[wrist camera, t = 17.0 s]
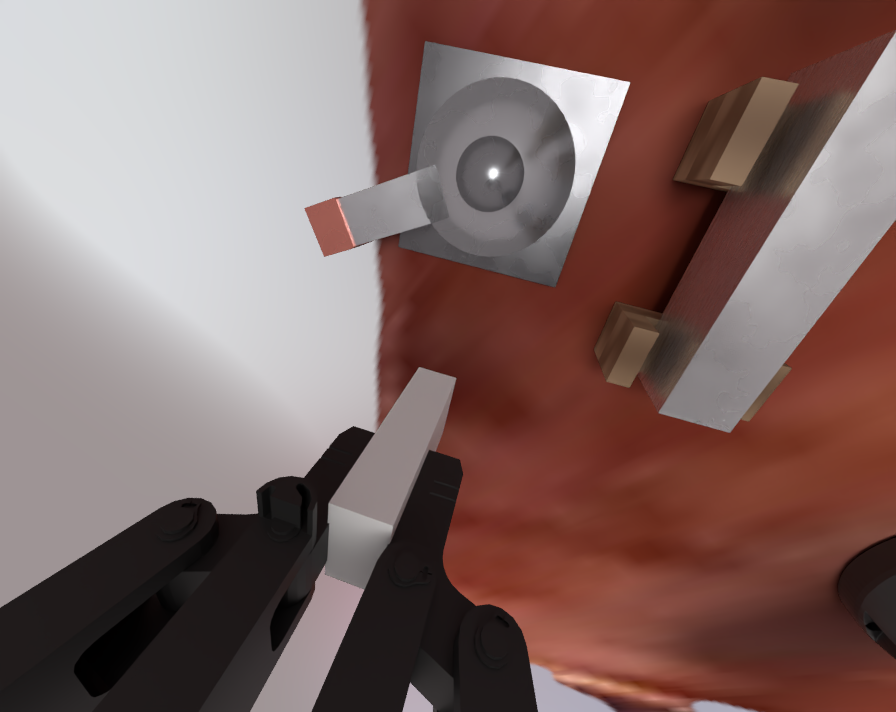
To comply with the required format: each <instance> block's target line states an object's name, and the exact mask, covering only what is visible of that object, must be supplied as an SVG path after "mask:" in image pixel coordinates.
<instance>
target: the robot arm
mask: <svg viewBox="0 0 896 712" xmlns="http://www.w3.org/2000/svg"><path fill="white" fill-rule="evenodd" d="M455 382H456V378H454V377H451V376H448V375H444V374H441V373H438V372H434V371H431V370H428V369H424V368H421V367H419V368H418V370H417V371H416V373H415V374H414V376H413V377H412V379H411V380H410V382H409V383H408V385H407V386H406V388H405V389H404V391H403V392H402V394H401V395H400V397H399V398H398V400H397V401H396V403H395V404H394V406H393V407H392V409H391V410H390V412H389V413H388V415H387V416H386V418H385V419H384V421H383V422H382V424H381V425H380V427H379V428H378V430H377V431H376V433H373V432H370V431H367V430H364V429H361V428H357V427H354V426H353V427H351V428H349V429H348V430H346V431H344V432H342V433H341V434H339V435H338V437H337V438H336V439H335V440H334V442H333V443H332V444H331V445H330V447H329V449H327V450H326V451H325V453H324V454H323V455H322V457H321V459H319V460H318V461H317V463H316V464H315V465H314V466H313V467H312V469H311V470H310V471H309V472H308V474H307V475H306V476H305V477H304V478H300V477H294V476H288V477H280V478H277V479H275V480H272V481H270V482H267V483H266V484H265V485H263V486H262V487H261V488H259V489H258V490H257V491H256V493H257V504H258V514H248V515H241V514H240V515H239V514H217V513H216V509H215V508H214V506H213V505H212V503H211V502H209V501H206V500H204V499H202V498H186V499H182V500H178V501H174V502H172V503H170V504H168V505H165V506H163V507H161V508H159V509H158V510H156V511H155V512H153V513H151V514H150V515H148V516H147V517H145V518H143V519H142V520H140V521H139V522H137V523H135V524H134V525H132V526H131V527H129V528H127V529H126V530H124V531H123V532H121V533H119V534H118V535H116V536H115V537H113V538H111V539H110V540H108V541H106V542H105V543H103V544H102V545H100V546H98V547H97V548H95V549H94V550H92V551H90V552H89V553H87V554H86V555H84V556H83V557H81V558H79V559H78V560H76V561H75V562H73V563H71V564H70V565H68V566H67V567H65V568H63V569H62V570H60V571H58V572H57V573H55V574H54V575H52V576H51V577H49V578H47V579H46V580H44V581H42V582H41V583H39V584H38V585H36V586H34V587H33V588H31V589H30V590H28V591H26V592H25V593H23V594H22V595H20V596H19V597H17V598H15V599H14V600H12V601H10V602H9V603H8V604H6V605H4V606H2V607H1V608H0V712H250V710H251V709H252V707H253V705H254V703H255V701H256V699H257V698H258V696H259V694H260V692H261V690H262V688H263V687H264V685H265V683H266V681H267V679H268V677H269V676H270V674H271V672H272V670H273V668H274V667H275V665H276V663H277V661H278V659H279V658H280V656H281V654H282V652H283V650H284V648H285V646H286V645H287V643H288V641H289V639H290V637H291V635H292V634H293V632H294V630H295V628H296V627H297V625H298V623H299V621H300V619H301V617H302V616H303V614H304V612H305V610H306V608H307V607H308V605H309V603H310V601H311V599H312V595H313V593H314V590H315V581H316V579H317V578H318V576H319V574H320V572H321V570H322V568H323V567H324V565H325V575H328V576H331V577H333V578H336V579H338V580H341V581H343V582H346V583H349V584H351V585H354V586H357V587H359V588H362V589H364V592H363V594H362V597H361V599H360V601H359V604H358V606H357V608H356V611H355V613H354V615H353V617H352V620H351V622H350V624H349V627H348V629H347V631H346V633H345V636H344V638H343V640H342V643H341V645H340V647H339V650H338V652H337V654H336V657H335V659H334V661H333V663H332V666H331V668H330V670H329V673H328V675H327V677H326V680H325V682H324V684H323V686H322V689H321V691H320V693H319V696H318V698H317V700H316V703H315V705H314V707H313V709H312V712H402V711H403V707H404V703H405V699H406V695H407V691H408V687H409V684H410V682H411V684H412V685H413V686H414V687H415V688H416V689H417V690H418V691H419V692H420V693H421V694H422V695H423V696H424V697H425V698H426V699H427V700H428V701H429V702H430V703H431V704H432V705H433V712H538V710H537V704H536V698H535V692H534V686H533V680H532V674H531V668H530V662H529V656H528V651H527V646H526V642H525V639H524V636H523V633H522V630H521V629H520V627H519V626H518V624H517V623H516V621H515V620H514V618H513V617H512V616H510V615H509V614H508V613H507V612H505V611H504V610H503V609H502V608H499V607H496V606H493V605H490V604H488V605H480V606H475V605H474V604H473V603H472V602H470V601H469V600H468V599H467V598H466V597H464V596H463V595H462V594H461V593H460V592H459V591H458V590H457V589H456V588H455V587H454V586H453V585H452V584H451V582H450V581H449V579H448V577H447V575H446V573H445V570H444V567H443V550H444V546H445V542H446V538H447V534H448V530H449V526H450V523H451V519H452V515H453V511H454V507H455V503H456V499H457V495H458V492H459V488H460V484H461V480H462V476H463V472H462V467H461V463H460V460H459V459H456V458H453V457H450V456H447V455H444V454H441V453H438V452H436V449H437V447H438V444H439V441H440V439H441V436H442V434H443V430H444V426H445V422H446V418H447V414H448V410H449V406H450V402H451V398H452V394H453V390H454V386H455ZM838 593H839V597H840V599H841V601H842V603H843V604H844V606H845V607H846V608H847V610H848V611H849V612H850V614H851V615H852V616H853V618H854V619H855V620H856V622H857V623H858V624H859V626H860V627H861V628H862V629H863V630H864V631H865V632H866V634H867V635H868V636H869V637H871V638H872V639H873V640H874V641H875V642H876V643H877V644H879V645H880V646H881V647H882V648H883V649H884V650H886V651H887V652H888V653H889V654H890V655H891V656H892V657H894V658H895V659H896V538H894V539H891V540H888V541H886V542H883V543H881V544H879V545H877V546H875V547H873V548H871V549H869V550H868V551H866V552H864V553H863V554H861V555H860V556H858V557H857V558H856V559H855V560H854V561H852V562H851V563H850V564H849V565H848V567H847V568H846V569H845V570H844V572H843V573H842V575H841V577H840V580H839V583H838Z"/></svg>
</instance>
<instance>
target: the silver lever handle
mask: <svg viewBox="0 0 896 712" xmlns="http://www.w3.org/2000/svg"><path fill="white" fill-rule="evenodd" d="M575 163H576V161H575V147H574V142H573V137H572V134H571V130H570V127H569V125H568V123H567V121H566V118H565V116H564V114H563V113H562V111H561V110H560V108H559V107H558V106H557V104H556V103H555V102H554V101H553V100H552V99H551V98H550V97H549V96H548V95H547V94H546V93H545V92H543V91H542V90H541V89H539V88H538V87H536V86H534V85H532V84H530V83H528V82H525V81H522V80H519V79H515V78H509V77H494V78H488V79H483V80H480V81H477V82H474V83H471V84H469V85H467V86H465V87H463V88H462V89H460V90H459V91H457V92H456V93H455V94H453V95H452V96H451V97H450V98H449V99H448V100H447V101H445V102H444V103H443V105H442V106H441V107H440V108H439V109H438V111H437V112H436V113H435V115H434V116H433V118H432V119H431V121H430V123H429V125H428V127H427V129H426V131H425V133H424V136H423V138H422V141H421V144H420V148H419V153H418V159H417V171H416V172H413V173H410V174H407V175H404V176H402V177H399V178H396V179H393V180H390V181H387V182H384V183H382V184H379V185H376V186H373V187H370V188H368V189H364V190H362V191H359V192H356V193H353V194H350V195H347V196H344V197H336V198H332V199H330V200H327V201H324V202H321V203H318V204H315V205H313V206H310V207H307V208H305V211H306V213H307V216H308V218H309V221H310V223H311V225H312V228H313V230H314V233H315V235H316V238H317V240H318V243H319V245H320V247H321V250H322V252H323V255H324V257H325V256H328V255H332V254H335V253H338V252H342V251H346V250H349V249H352V248H355V247H358V246H361V245H364V244H366V243H369V242H372V241H374V240H377V239H380V238H384V237H387V236H391V235H394V234H397V233H401V232H404V231H407V230H411V229H414V228H418V227H421V226H424V225H428V224H432V225H433V227H434V228H435V229H436V231H437V232H438V233H439V234H440V235H441V236H442V237H443V238H444V239H445V240H446V241H448V242H449V243H450V244H452V245H453V246H455V247H456V248H458V249H460V250H462V251H465V252H467V253H470V254H474V255H478V256H487V257H494V256H503V255H508V254H512V253H515V252H518V251H520V250H522V249H524V248H526V247H528V246H530V245H531V244H533V243H534V242H536V241H537V240H538V239H540V238H541V237H542V236H543V235H544V234H545V233H546V232H547V231H548V230H549V229H550V228H551V227H552V226H553V224H554V223H555V222H556V220H557V219H558V218H559V216H560V214H561V213H562V211H563V209H564V207H565V205H566V203H567V201H568V198H569V195H570V192H571V189H572V186H573V181H574V175H575Z"/></svg>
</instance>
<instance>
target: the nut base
mask: <svg viewBox="0 0 896 712" xmlns="http://www.w3.org/2000/svg"><path fill="white" fill-rule="evenodd" d="M494 77H509V78H515V79H519V80H522V81H525V82H528V83H530V84H532V85H534V86H536V87H538V88H539V89H541V90H542V91H543V92H545V93H546V94H547V95H548V96H549V97H550V98H551V99H552V100H553V101H554V102H555V103H556V104H557V106H558V107H559V108H560V110H561V111H562V113H563V114H564V116H565V118H566V121H567V123H568V125H569V127H570V130H571V134H572V137H573V142H574V147H575V161H576V163H575V175H574V181H573V186H572V189H571V192H570V195H569V198H568V201H567V203H566V205H565V207H564V209H563V211H562V213H561V214H560V216H559V218H558V219H557V220H556V222H555V223H554V224H553V226H552V227H551V228H550V229H549V230H548V231H547V232H546V233H545V234H544V235H543V236H542V237H541V238H540V239H538V240H537V241H536V242H534V243H533V244H531V245H530V246H528V247H526V248H524V249H522V250H520V251H518V252H515V253H512V254H508V255H503V256H494V257H487V256H478V255H474V254H470V253H467V252H465V251H462V250H460V249H458V248H456V247H455V246H453V245H452V244H450V243H449V242H448V241H446V240H445V239H444V238H443V237H442V236H441V235H440V234H439V233H438V232H437V231H436V229H435V228H434V227H433V225H432V224H428V225H424V226H421V227H418V228H414V229H411V230H407V231H404V232H401V233H400V239H399V247H401V248H405V249H409V250H413V251H417V252H420V253H424V254H428V255H432V256H436V257H440V258H444V259H447V260H451V261H455V262H459V263H463V264H467V265H471V266H474V267H478V268H482V269H486V270H490V271H494V272H498V273H501V274H505V275H509V276H513V277H517V278H521V279H525V280H529V281H532V282H536V283H540V284H544V285H548V286H552V287H555V286H556V284H557V281H558V278H559V276H560V273H561V270H562V267H563V265H564V262H565V259H566V256H567V254H568V251H569V248H570V246H571V243H572V240H573V237H574V235H575V232H576V229H577V226H578V224H579V221H580V218H581V216H582V213H583V210H584V207H585V205H586V202H587V199H588V197H589V194H590V191H591V188H592V186H593V183H594V180H595V177H596V175H597V172H598V169H599V167H600V164H601V161H602V158H603V156H604V153H605V150H606V147H607V145H608V142H609V139H610V137H611V134H612V131H613V128H614V126H615V123H616V120H617V117H618V115H619V112H620V109H621V107H622V104H623V101H624V98H625V96H626V93H627V90H628V87H629V85H630V82H626V81H621V80H616V79H611V78H606V77H601V76H596V75H591V74H586V73H581V72H576V71H571V70H566V69H561V68H556V67H551V66H546V65H541V64H536V63H531V62H526V61H521V60H516V59H511V58H506V57H502V56H497V55H492V54H487V53H482V52H477V51H472V50H467V49H462V48H457V47H452V46H447V45H442V44H437V43H432V42H427V41H425V46H424V54H423V62H422V69H421V77H420V85H419V93H418V100H417V108H416V116H415V123H414V131H413V139H412V147H411V154H410V162H409V170H408V174H410V173H413V172H416V171H417V159H418V153H419V148H420V144H421V141H422V138H423V136H424V133H425V131H426V129H427V127H428V125H429V123H430V121H431V119H432V118H433V116H434V115H435V113H436V112H437V111H438V109H439V108H440V107H441V106H442V105H443V103H444V102H445V101H447V100H448V99H449V98H450V97H451V96H452V95H453V94H455V93H456V92H457V91H459V90H460V89H462V88H463V87H465V86H467V85H469V84H471V83H474V82H477V81H480V80H483V79H488V78H494Z"/></svg>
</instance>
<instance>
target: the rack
mask: <svg viewBox="0 0 896 712" xmlns="http://www.w3.org/2000/svg"><path fill="white" fill-rule="evenodd" d="M798 85H799V84H797V83H792V82H787V81H782V80H777V79H771V78H766V77H761V78H759V79H756V80H754V81H752V82H750V83H748V84H745V85H743V86H741V87H739V88H737V89H734V90H732V91H730V92H728V93H726V94H723V95H721V96H719V97H717V98H715V99H713V100H710V101H709V102H708V105H707V107H706V109H705V111H704V113H703V115H702V118H701V120H700V122H699V124H698V126H697V128H696V130H695V133H694V135H693V137H692V139H691V141H690V143H689V145H688V148H687V150H686V152H685V154H684V156H683V158H682V160H681V163H680V165H679V167H678V169H677V171H676V173H675V176H674V178H673V180H675V181H679V182H684V183H688V184H693V185H697V186H702V187H706V188H710V189H715V190H719V191H724V192H728V191H729V189H730V187H731V186H742V185H743V183H744V181H745V180H746V178H747V176H748V174H749V172H750V171H751V169H752V167H753V165H754V163H755V162H756V160H757V158H758V156H759V155H760V153H761V151H762V149H763V147H764V146H765V144H766V142H767V140H768V138H769V137H770V135H771V133H772V131H773V129H774V128H775V126H776V124H777V122H778V120H779V119H780V117H781V115H782V113H783V111H784V110H785V108H786V106H787V104H788V103H789V101H790V99H791V97H792V95H793V94H794V92H795V90H796V88H797V86H798ZM894 222H896V220H895V221H894ZM661 316H662V313H659V312H655V311H651V310H647V309H643V308H639V307H635V306H632V305H628V304H624V303H620V302H615V304H614V307H613V309H612V311H611V313H610V315H609V317H608V319H607V322H606V324H605V326H604V328H603V330H602V332H601V334H600V337H599V339H598V341H597V343H596V345H595V347H594V351H595V354H596V356H597V359H598V362H599V364H600V367H601V369H602V372H603V375H604V377H605V380H606V382H610V383H613V384H617V385H620V386H624V387H628V388H630V386H631V384H632V382H633V380H634V379H635V377H636V375H637V373H638V371H639V370H640V368H641V366H642V364H643V362H644V361H645V359H646V357H647V355H648V354H649V352H650V350H651V348H652V346H653V345H654V343H655V341H656V339H657V337H658V336H659V334H660V333H659V332H658V331H657V330H656V328H655V327H656V325H657V323H658V321H659V320H660V318H661ZM791 369H792V368H791V367H789V366H788V365H787V364H785V363H784V364H783V365H782V366H781V368H780V369H779V370H778V371H777V373H776V374H775V375H774V377H773V378H772V379H771V380H770V382H769V383H768V384H767V386H766V387H765V388H764V389H763V391H762V392H761V393H760V395H759V396H758V397H757V398H756V400H755V401H754V402H753V404H752V405H751V406H750V407H749V409H748V410H747V411H746V413H745V414H744V415H743V416H742V418H741V419H742V420H745V421H750V420H751V418H752V417H753V416H754V415H755V413H756V412H757V411H758V410H759V408H760V407H761V406H762V405H763V404H764V402H765V401H766V400H767V399H768V397H769V396H770V395H771V394H772V392H773V391H774V390H775V389H776V387H777V386H778V385H779V384H780V383H781V381H782V380H783V379H784V378H785V376H786V375H787V374H788V373H789V371H790V370H791Z"/></svg>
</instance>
